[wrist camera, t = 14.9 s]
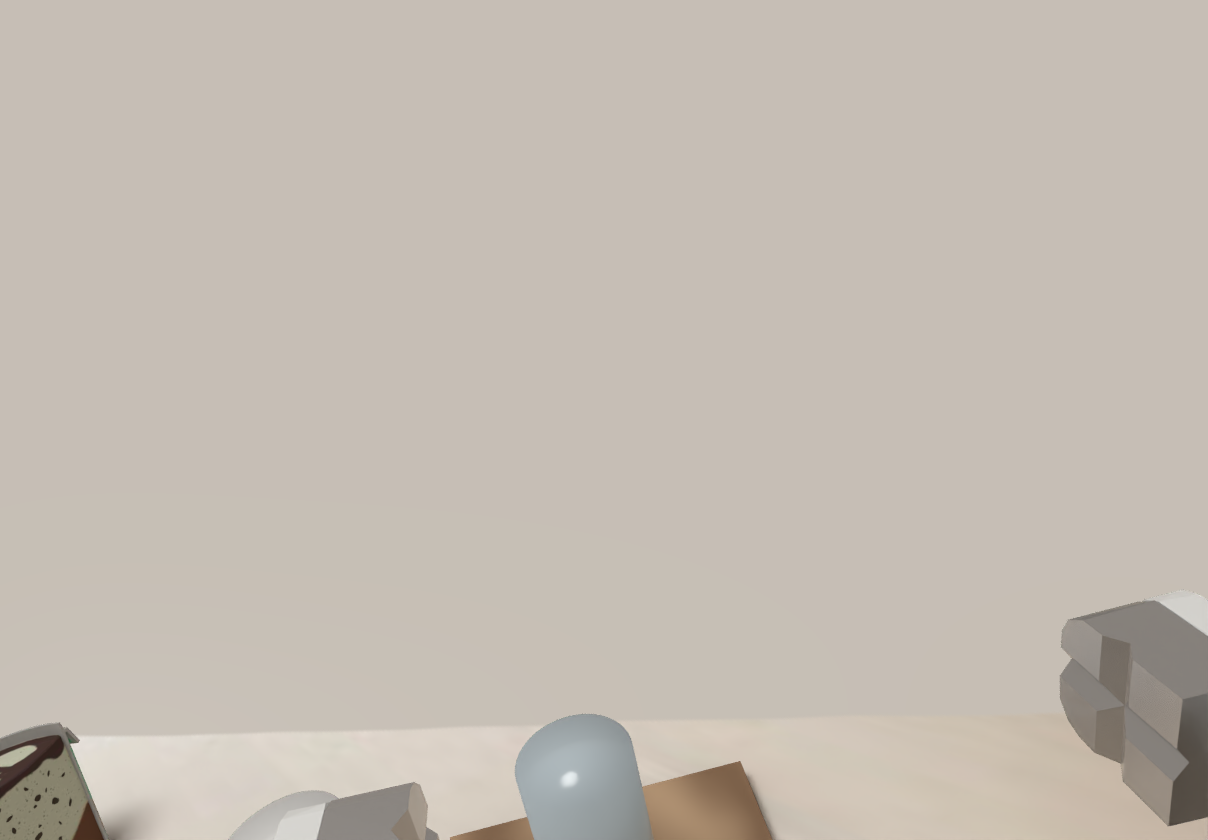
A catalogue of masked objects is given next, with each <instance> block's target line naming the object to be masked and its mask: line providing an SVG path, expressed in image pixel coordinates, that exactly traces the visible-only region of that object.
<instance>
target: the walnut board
mask: <svg viewBox="0 0 1208 840" xmlns="http://www.w3.org/2000/svg"><path fill="white" fill-rule="evenodd" d="M642 789H643V793H644V797H645V802H646V806H647V811H648V815H649V820H650V824H651V828H652V833H653V837H654V840H772V838H771V835H770V833H769V830H768V828H767V825H766V823H765V821H764V818H763V816H762V813H761V811H760V808H759V806H758V803H757V801H756V799H755V796H754V794H753V791H752V789H751V786H750V784H749V781H748V779H747V777H746V774H745V772H744V769H743V767H742V764H741V762H740V761H739V762H735V763H731V764H727V765H723V766H720V767H716V768H712V769H708V770H704V771H701V772H697V773H693V774H689V775H685V776H682V777H678V778H674V779H670V780H666V781H662V782H659V783H655V784H651V785H647V786H643V787H642ZM450 840H534V837H533V834H532V831H531V828H530V824H529V821H528V818H527V817H525V818H522V819H518V820H514V821H510V822H506V823H503V824H499V825H495V826H491V827H487V828H484V829H480V830H476V831H472V832H468V833H464V834H461V835H457V836H453V837H450Z"/></svg>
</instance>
